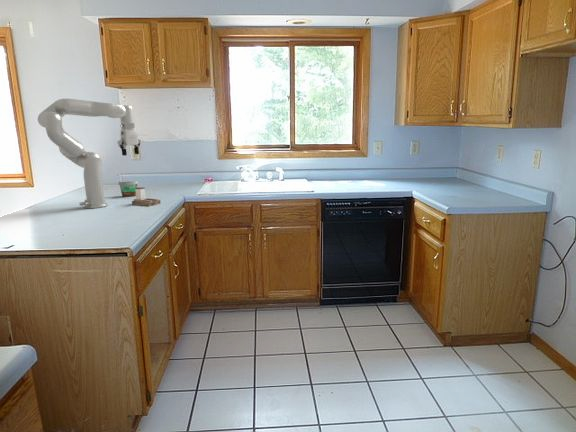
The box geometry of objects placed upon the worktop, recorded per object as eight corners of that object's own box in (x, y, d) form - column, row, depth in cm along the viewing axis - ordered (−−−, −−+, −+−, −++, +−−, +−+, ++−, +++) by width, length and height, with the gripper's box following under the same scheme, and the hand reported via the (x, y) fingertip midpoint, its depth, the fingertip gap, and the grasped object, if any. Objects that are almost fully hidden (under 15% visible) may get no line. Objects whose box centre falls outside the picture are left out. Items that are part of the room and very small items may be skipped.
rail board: (149, 206, 243) (149, 201, 243) (132, 204, 249) (131, 199, 249) (160, 203, 251) (160, 198, 250) (143, 201, 257) (143, 197, 257)
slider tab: (141, 200, 249) (140, 188, 247) (136, 199, 251) (135, 187, 249) (145, 199, 252) (144, 187, 250) (140, 198, 254) (139, 187, 252)
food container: (118, 197, 272) (117, 182, 270) (119, 196, 278) (118, 181, 276) (138, 196, 275) (137, 181, 273) (139, 195, 281) (137, 180, 279)
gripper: (120, 126, 244) (123, 156, 248) (143, 126, 259) (145, 153, 263) (111, 126, 248) (115, 155, 251) (134, 126, 263) (137, 153, 266)
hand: (130, 154), depth 257 cm, fingers open, 9 cm apart
